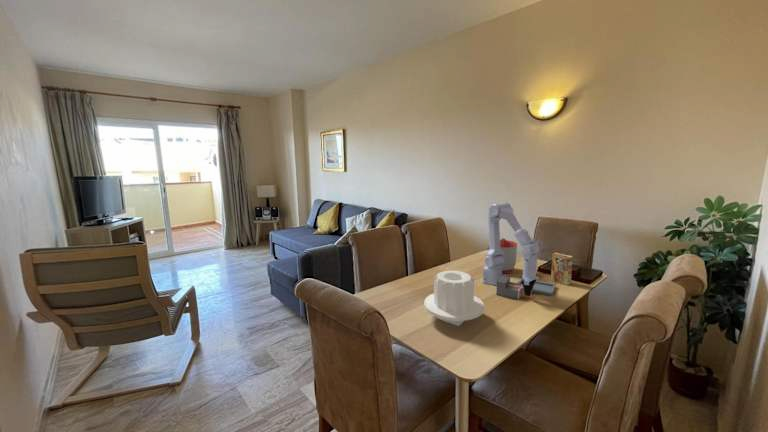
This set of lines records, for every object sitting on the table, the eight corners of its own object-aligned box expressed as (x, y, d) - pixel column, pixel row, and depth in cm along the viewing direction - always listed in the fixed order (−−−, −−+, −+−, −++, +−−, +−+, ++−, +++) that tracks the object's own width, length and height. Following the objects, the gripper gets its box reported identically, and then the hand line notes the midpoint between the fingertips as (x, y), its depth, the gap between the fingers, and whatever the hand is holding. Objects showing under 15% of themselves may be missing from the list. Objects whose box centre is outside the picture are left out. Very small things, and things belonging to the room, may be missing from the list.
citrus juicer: (490, 263, 200) (491, 233, 196) (519, 268, 190) (520, 236, 186) (482, 271, 188) (482, 239, 184) (512, 277, 178) (513, 243, 174)
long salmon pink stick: (507, 293, 157) (507, 285, 156) (508, 292, 158) (508, 284, 157) (531, 298, 151) (531, 289, 150) (531, 297, 152) (532, 288, 151)
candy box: (571, 283, 166) (573, 256, 163) (566, 285, 164) (569, 257, 161) (554, 278, 173) (556, 252, 171) (550, 280, 171) (552, 253, 168)
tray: (515, 289, 162) (515, 286, 161) (520, 280, 172) (520, 278, 172) (552, 296, 152) (552, 293, 152) (555, 286, 163) (555, 284, 162)
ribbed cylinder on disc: (441, 299, 152) (442, 262, 149) (492, 314, 137) (494, 273, 133) (413, 321, 133) (412, 279, 130) (468, 341, 118) (469, 294, 114)
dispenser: (496, 294, 156) (496, 281, 155) (501, 287, 164) (502, 274, 163) (518, 299, 150) (519, 285, 149) (522, 291, 158) (523, 278, 157)
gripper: (536, 273, 141) (534, 301, 144) (541, 264, 153) (539, 290, 155) (519, 270, 145) (518, 298, 148) (525, 261, 157) (524, 287, 159)
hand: (528, 293), depth 152 cm, fingers open, 4 cm apart
